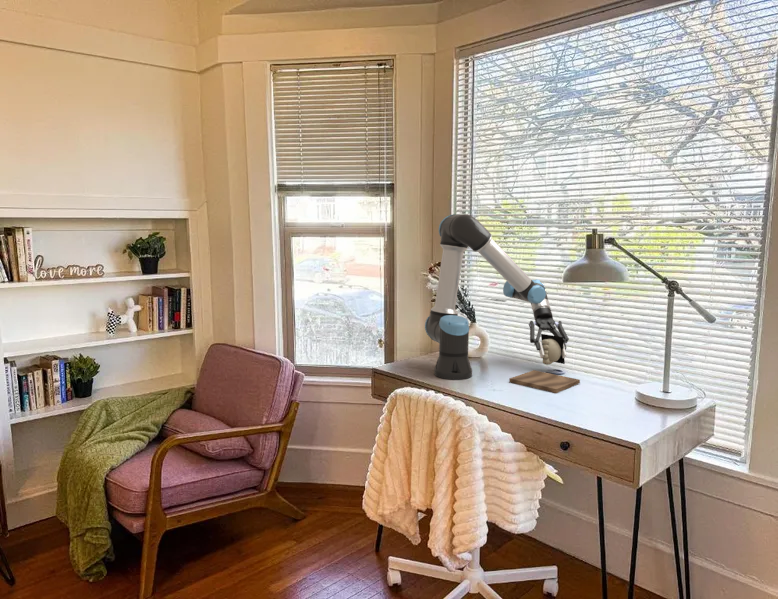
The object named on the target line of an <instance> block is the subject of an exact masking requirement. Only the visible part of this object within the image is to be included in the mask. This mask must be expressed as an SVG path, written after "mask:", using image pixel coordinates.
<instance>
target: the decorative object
mask: <svg viewBox="0 0 778 599" xmlns="http://www.w3.org/2000/svg"><path fill="white" fill-rule="evenodd" d="M540 339H541V343H542V347H543V351H544V357H543V358H542V364H544V365H551V364H553V363H557V364H561V365H562V364H563V365H565V364H566V363H565V362H566V361H565V358H562V350H563V349H564V345H563V337H558V336H554V335H553V334H552V335H551V334H544V333H541V336H540Z"/></svg>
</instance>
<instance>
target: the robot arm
mask: <svg viewBox="0 0 778 599" xmlns="http://www.w3.org/2000/svg"><path fill="white" fill-rule="evenodd" d="M438 226H439V227H438V234H439V236H440V242H439V243H440V244H439V246H440V247H441V248H442V254H441V262H440V268H439V275H438V283H437V290H436V294H435V301H434V302H435V303H434V306H432V307H431V308H430V312H429V316H428V317H427V318H426V320H425V321H424V322H425V323H424V331H425V333H426V334H427V336H428V337H429V338H430V339H431V340H432V341H434V342H436V343H438V344H439V345H438V358H437V361H436V363H435V364H436V365H435V367H434V373H433V374H434V376H436V377H437V378H441V379H446V380H463V379H465V380H466V379H469V378H472V376H473V368H472V366H471V362H470V361H471V360H470V359H469V341H470V340H469V338H470V337H469V336H470V323H469V320H468V319H467V318H466V317H463V316H461V315H460V316H459V312H458V311H457V310H456V305H457V304H456V303H457V296H458V291H459V283H460V278H461V270H462V264H463V258H464V253H465V251H467V250H468V249H469V248H470V250H472V251H473V252H478V253H479V255H480V256H481V257H482V258H483V259H485V260H486V262H488V264H489V265H490V266H491V267H492V268H493V269H494V270H496V272H497V273H498V274H499V275H500V276H501V277H502V278H504V280H505V282H504V283H503V288H502V292H503V295H504V296H505V297H508V298H511V299H517V300H520V301H524V302H527V303H530V306H531V309H532V310H531V311H532V314H533V318H534V320H530V321H529V323H528V326H529V342H530V344H533V345H534V346H535V350H537V351H538V352H539V356H540V359H543V357H544V351H543V347H542V340H541V341H540V339H541V334H543V333H542V332H544V331H547V332H548V331H549V332H550V333H551V334H552V336H558V337H563V345H564V349H563V350H562V358H564V359H566V357H567V352H566V350H567V343H568V342H569V340H570V339H569V336H568V334H567V332H566V330H565V329H564V327H563V323H562V320H558V321H555V319H554V316H553V313H552V309H551V306H550V301H549V298H548V294H546V293H547V290H546V291H545V289H546V287H544V286H545V284H544V283H543V284H544V285H543V284H542V283H541V282H540V280H541V279H531V277H529V275H527V274H526V272H525V271H523V269H522V268H521V267H520V266H519V265H518V264H517V263H516V262H515V261H514V260H513V259H512V258H511V257H510V256H509V255H508V253H506V252H505V251H504V250H503V248H502V247H501V246H500V245H499V244H498V243H497V242H496V241H495V240H494V239H493V238H492V233H491V232H490V231H489V230H488V229H487V228H486V227H485V226H484V225H483V224H482V223H481V222H480V220H478V219H476V218H475V217H474V216H472V215H470V214H467V213H465V214H464V213H461V214H458V213H454V214H449V215H448V216H445V217H444V218H443V219H442V220H441V221H440V223H439V225H438ZM535 326H537V328H538V331H537V334H536V336H535V333H536V332H535Z"/></svg>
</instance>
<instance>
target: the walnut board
mask: <svg viewBox="0 0 778 599" xmlns="http://www.w3.org/2000/svg"><path fill="white" fill-rule="evenodd" d="M508 380H509V381H508V382H509V383H510V382H511V383H510V384H515V385H519V386H525V387H528V388H533V389H537V390H542V391H545V392H549V393H553V394H557V393H560V392H563V391H565V390H568V389H571V388H572V386H573V387H575V386H577V385H579V384H578V383H581V379H578V378H575V377H570V376H569V377H568V376H565V375H564V376H563V375H561V374H560V375H559V374H555V373H550V372H544V371H542V370H541V371H539V370H534V369H533V370H530V371H527V372H524V373H522V374H519V375H515V376H513V377H510V378H509V379H508ZM576 384H577V385H576ZM574 385H575V386H574Z"/></svg>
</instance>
